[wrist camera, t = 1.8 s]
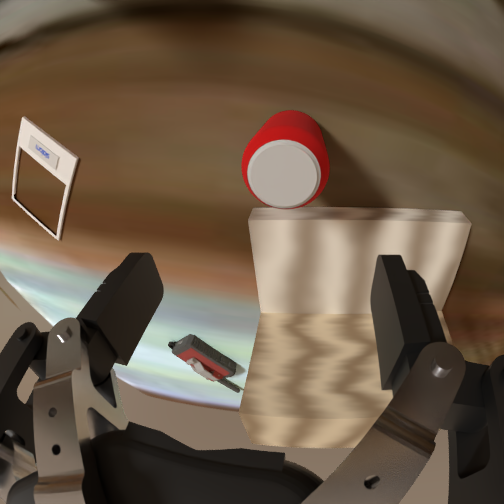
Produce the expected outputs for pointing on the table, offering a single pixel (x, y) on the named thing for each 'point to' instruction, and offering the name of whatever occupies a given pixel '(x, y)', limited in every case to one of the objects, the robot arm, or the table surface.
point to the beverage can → (286, 161)
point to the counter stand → (332, 315)
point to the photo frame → (46, 162)
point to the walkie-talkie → (204, 360)
